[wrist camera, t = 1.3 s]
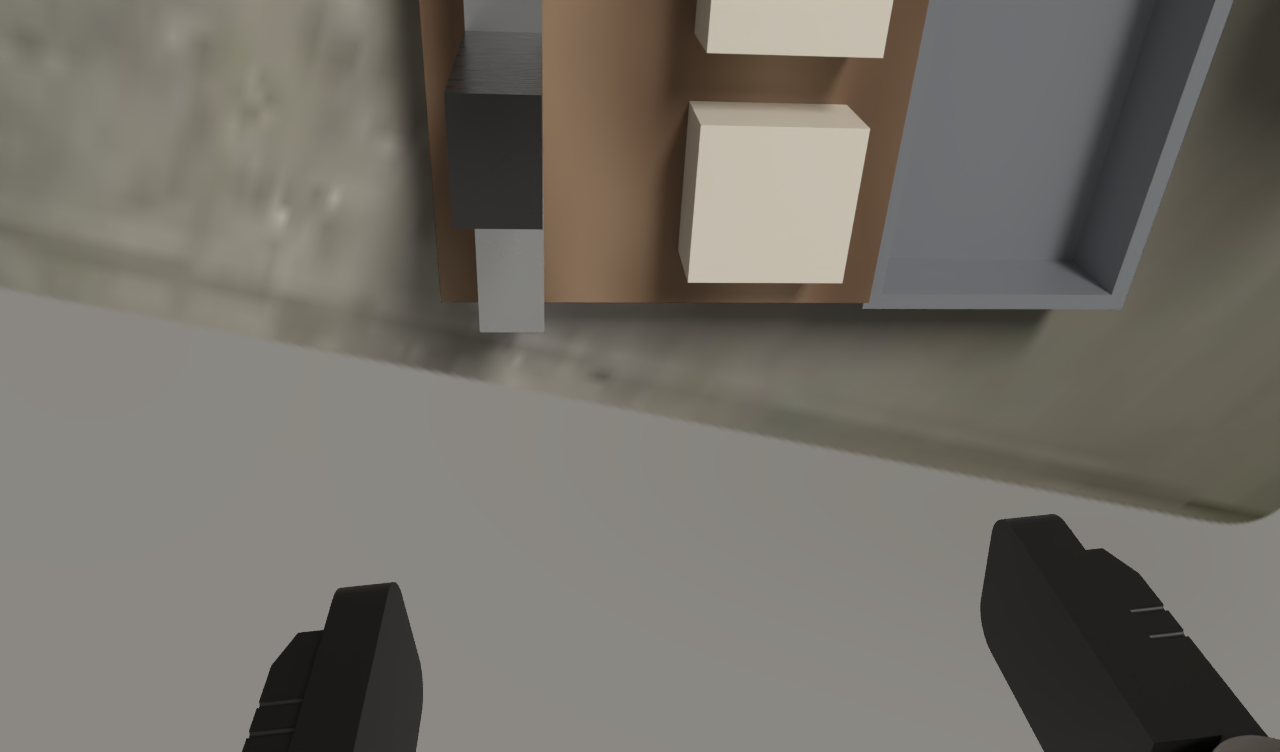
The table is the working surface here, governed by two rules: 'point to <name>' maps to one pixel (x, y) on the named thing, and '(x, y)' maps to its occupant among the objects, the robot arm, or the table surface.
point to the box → (1039, 149)
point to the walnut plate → (659, 145)
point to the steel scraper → (500, 158)
